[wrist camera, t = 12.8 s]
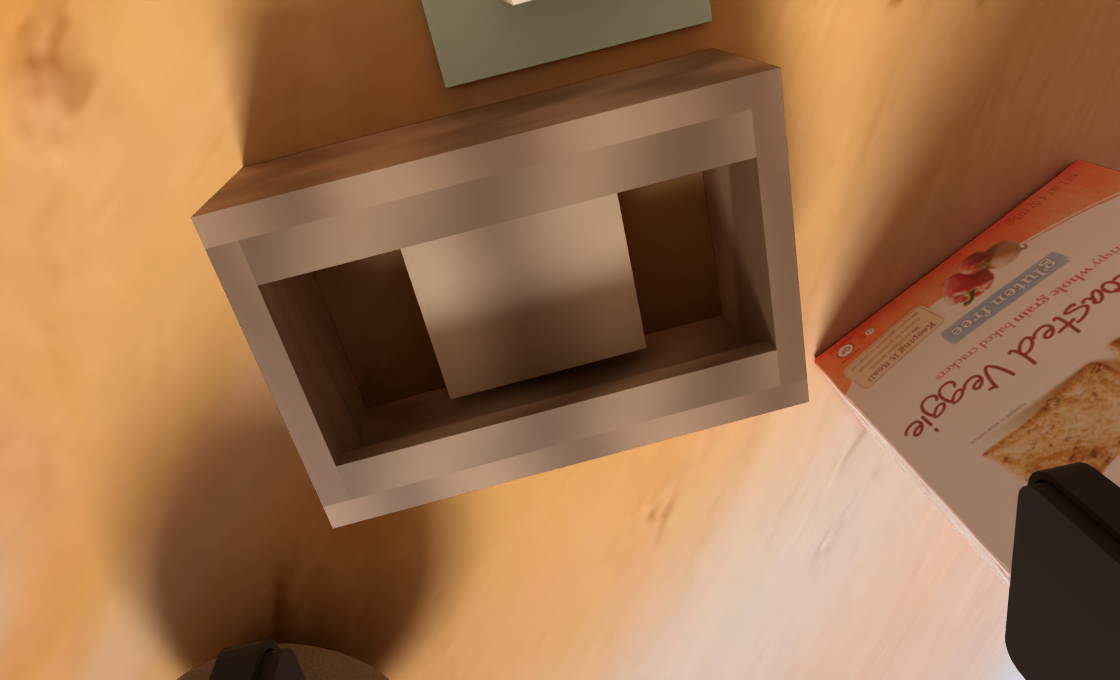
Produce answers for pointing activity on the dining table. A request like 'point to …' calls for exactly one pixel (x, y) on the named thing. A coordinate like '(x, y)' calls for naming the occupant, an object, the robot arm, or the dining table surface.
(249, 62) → the dining table surface
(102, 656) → the dining table surface
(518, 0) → the block
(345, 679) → the dark grey rounded lump
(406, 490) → the crate
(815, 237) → the dining table surface
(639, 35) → the panel
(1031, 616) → the robot arm
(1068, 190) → the cracker box
